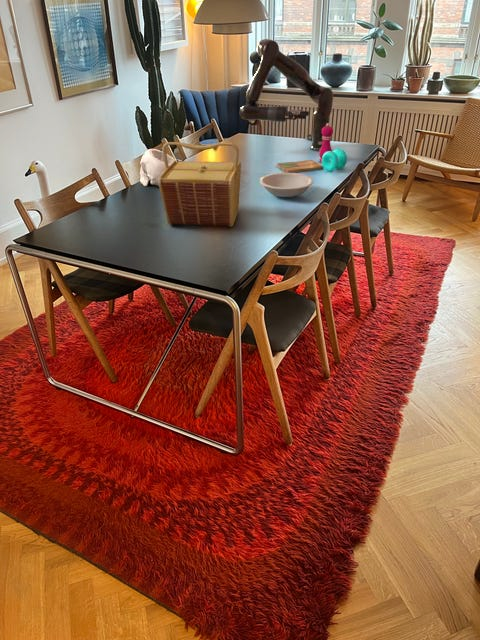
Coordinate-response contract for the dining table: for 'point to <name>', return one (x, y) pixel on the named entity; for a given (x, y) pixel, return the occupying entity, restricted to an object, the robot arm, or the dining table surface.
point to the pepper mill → (326, 141)
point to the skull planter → (153, 166)
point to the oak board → (299, 166)
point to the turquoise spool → (334, 160)
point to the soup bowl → (286, 184)
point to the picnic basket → (200, 189)
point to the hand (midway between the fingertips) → (307, 115)
